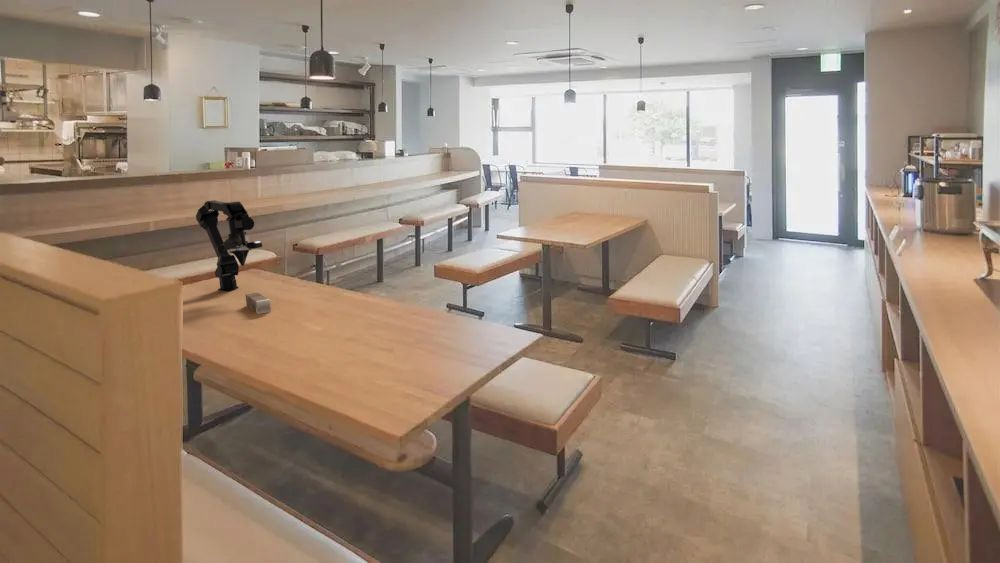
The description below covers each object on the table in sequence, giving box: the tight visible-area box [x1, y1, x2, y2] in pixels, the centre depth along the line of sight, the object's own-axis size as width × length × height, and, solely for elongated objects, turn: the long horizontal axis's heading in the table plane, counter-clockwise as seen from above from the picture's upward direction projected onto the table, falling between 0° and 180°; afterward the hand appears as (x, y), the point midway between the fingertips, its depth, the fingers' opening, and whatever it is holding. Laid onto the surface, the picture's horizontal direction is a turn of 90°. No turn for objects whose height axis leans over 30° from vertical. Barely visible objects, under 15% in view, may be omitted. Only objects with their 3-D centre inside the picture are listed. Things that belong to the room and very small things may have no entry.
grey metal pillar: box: [245, 292, 272, 315], centre depth 255 cm, size 5×5×15 cm
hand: (242, 265), depth 277 cm, fingers closed
